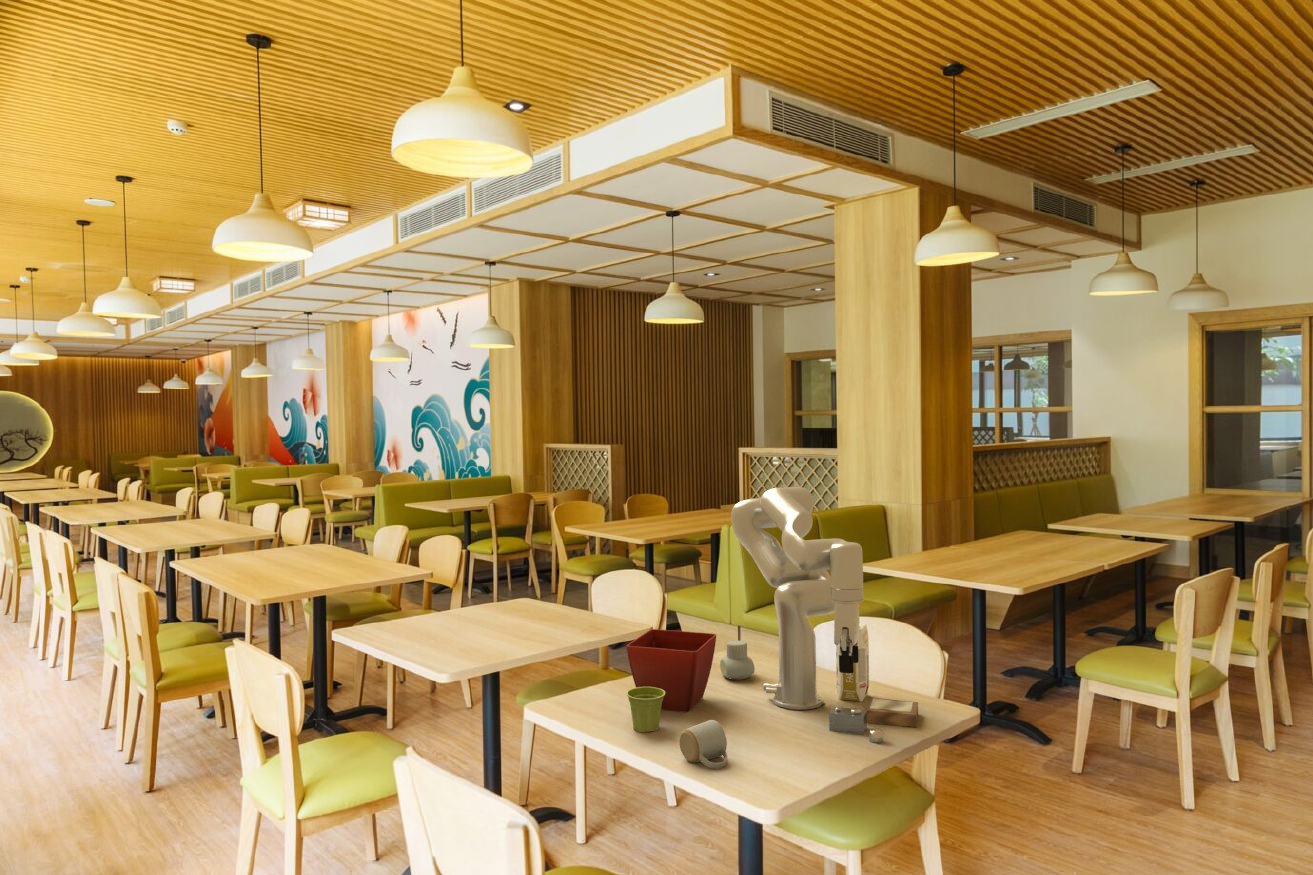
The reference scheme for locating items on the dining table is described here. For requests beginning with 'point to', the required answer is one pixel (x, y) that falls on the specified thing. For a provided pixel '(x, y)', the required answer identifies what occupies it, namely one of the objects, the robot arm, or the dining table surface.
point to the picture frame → (892, 712)
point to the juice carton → (855, 671)
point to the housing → (848, 720)
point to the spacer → (876, 736)
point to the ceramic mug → (704, 743)
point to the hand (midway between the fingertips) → (849, 667)
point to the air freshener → (737, 661)
